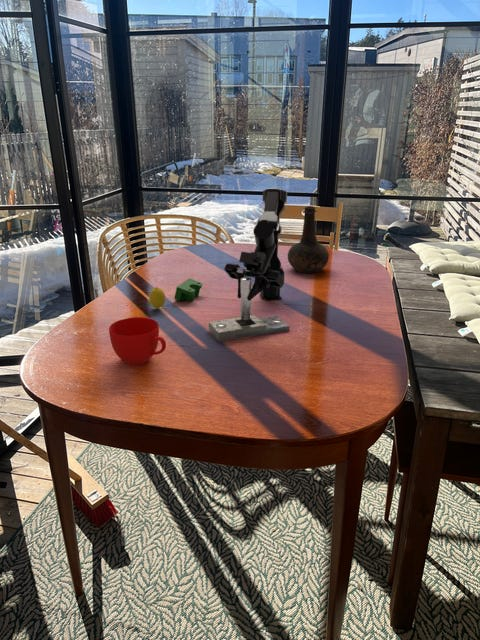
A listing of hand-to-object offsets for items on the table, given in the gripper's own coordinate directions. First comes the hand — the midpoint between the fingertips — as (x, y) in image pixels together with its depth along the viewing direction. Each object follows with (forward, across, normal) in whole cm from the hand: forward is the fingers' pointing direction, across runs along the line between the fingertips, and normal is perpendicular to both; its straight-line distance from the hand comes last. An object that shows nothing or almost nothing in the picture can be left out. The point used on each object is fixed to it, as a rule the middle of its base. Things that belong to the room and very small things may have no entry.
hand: (243, 298), depth 142 cm
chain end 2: (+5, +2, +11) cm, 12 cm away
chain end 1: (+8, -2, +7) cm, 11 cm away
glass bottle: (-44, -12, +61) cm, 76 cm away
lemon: (+7, -36, +9) cm, 38 cm away
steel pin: (+4, 0, +6) cm, 7 cm away
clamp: (-4, -34, +20) cm, 39 cm away
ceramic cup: (+30, -13, -14) cm, 36 cm away
